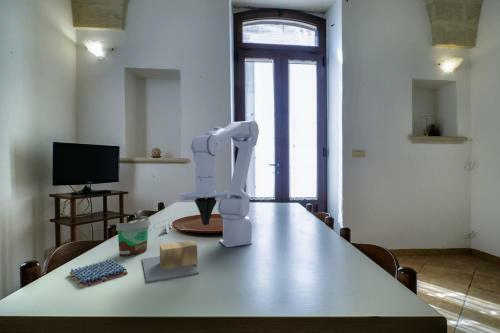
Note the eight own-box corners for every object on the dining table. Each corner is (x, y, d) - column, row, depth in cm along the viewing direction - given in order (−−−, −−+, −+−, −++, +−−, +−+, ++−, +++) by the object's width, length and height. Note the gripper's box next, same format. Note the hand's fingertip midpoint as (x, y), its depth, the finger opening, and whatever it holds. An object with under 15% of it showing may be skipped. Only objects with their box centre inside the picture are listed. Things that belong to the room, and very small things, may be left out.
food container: (134, 259, 75) (135, 224, 75) (115, 258, 76) (115, 223, 76) (158, 246, 87) (158, 216, 87) (141, 245, 88) (141, 215, 88)
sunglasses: (167, 235, 102) (165, 222, 102) (145, 239, 101) (142, 227, 101) (173, 227, 116) (171, 215, 116) (153, 230, 115) (151, 219, 115)
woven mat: (112, 265, 72) (112, 257, 72) (129, 276, 65) (129, 267, 65) (67, 277, 64) (67, 269, 64) (81, 291, 57) (81, 281, 57)
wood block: (192, 240, 75) (159, 244, 71) (197, 245, 71) (162, 249, 67) (192, 257, 75) (159, 262, 71) (197, 263, 71) (162, 269, 67)
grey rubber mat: (184, 254, 80) (184, 252, 80) (198, 273, 65) (198, 272, 65) (142, 260, 75) (142, 258, 75) (146, 283, 60) (146, 281, 60)
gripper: (182, 178, 69) (182, 230, 69) (234, 177, 76) (234, 224, 76) (177, 177, 75) (177, 224, 76) (225, 176, 82) (225, 219, 82)
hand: (205, 224), depth 76 cm, fingers closed
